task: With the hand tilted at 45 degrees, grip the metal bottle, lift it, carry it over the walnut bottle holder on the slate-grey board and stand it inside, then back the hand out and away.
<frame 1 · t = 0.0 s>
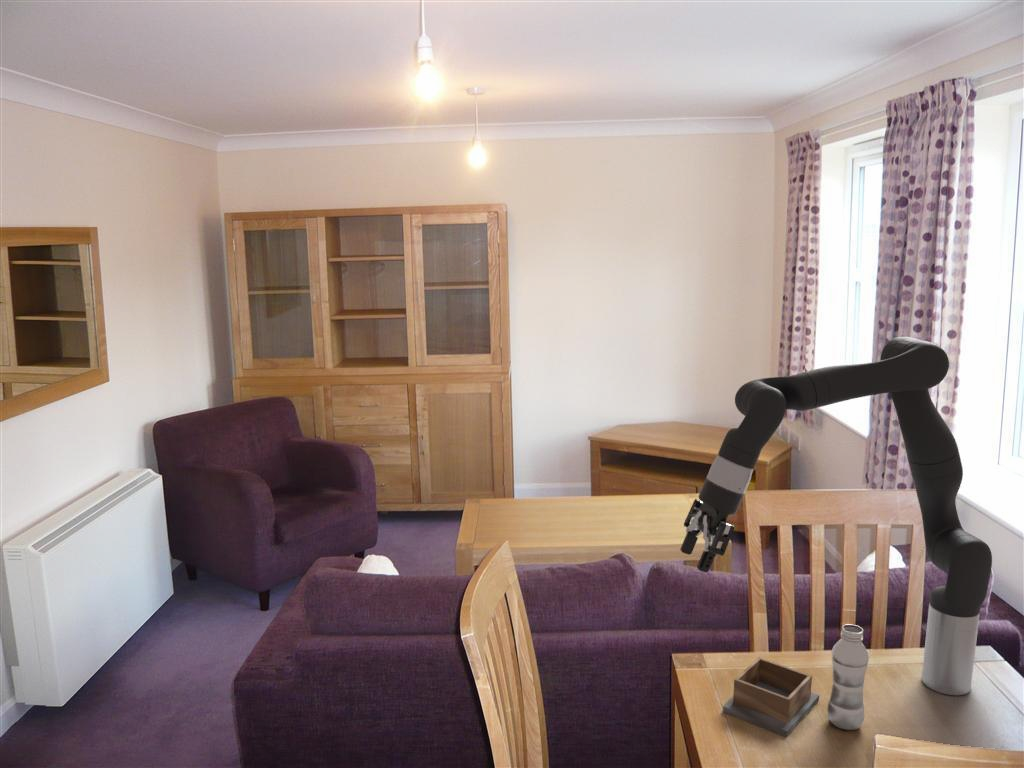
hand: (693, 561, 164), 31 cm above the table, tool tilted 20°, fingers open, 8 cm apart
metal bottle: (844, 725, 166), on the table
bottle holder: (771, 705, 172), on the table
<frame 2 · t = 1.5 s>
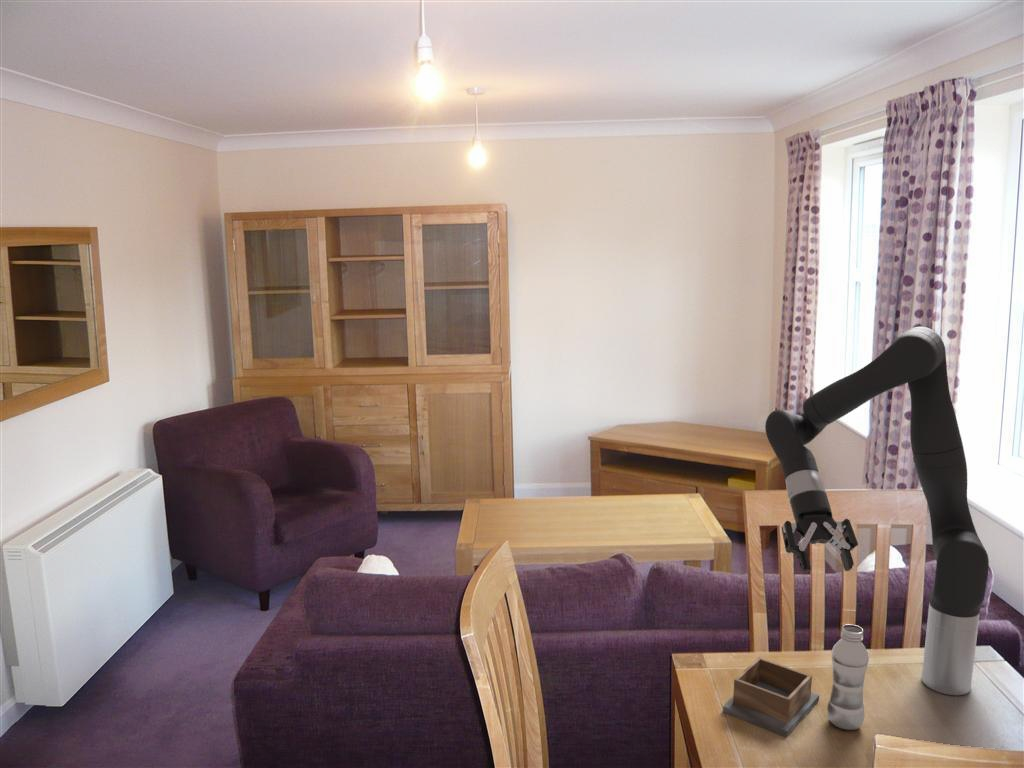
hand: (828, 570, 172), 27 cm above the table, tool tilted 45°, fingers open, 8 cm apart
nothing on the table moved.
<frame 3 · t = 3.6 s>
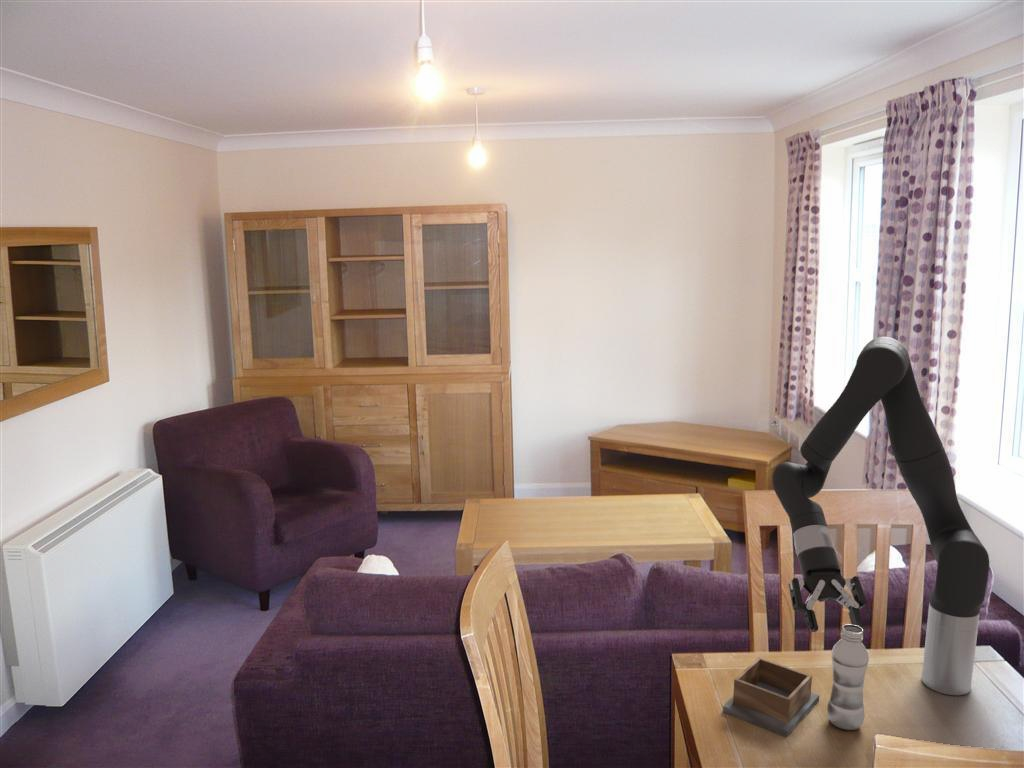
hand: (836, 630, 169), 16 cm above the table, tool tilted 45°, fingers open, 8 cm apart
nothing on the table moved.
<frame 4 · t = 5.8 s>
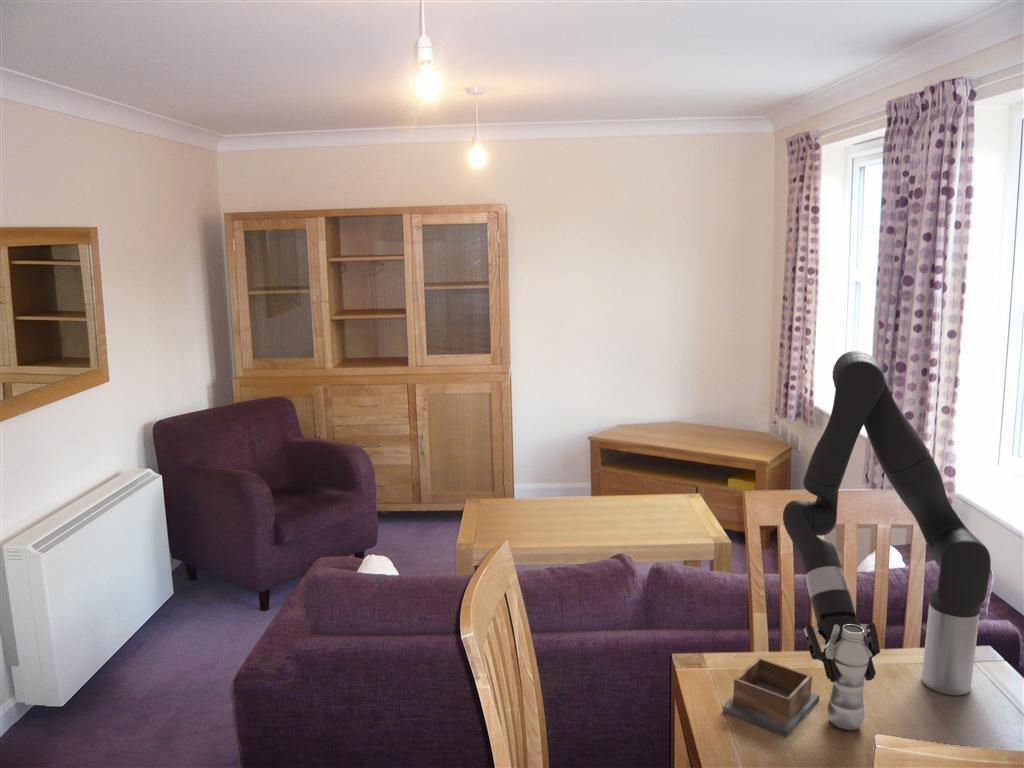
hand: (852, 680, 162), 10 cm above the table, tool tilted 45°, fingers closed on metal bottle, 6 cm apart
metal bottle: (844, 725, 166), on the table, touching gripper
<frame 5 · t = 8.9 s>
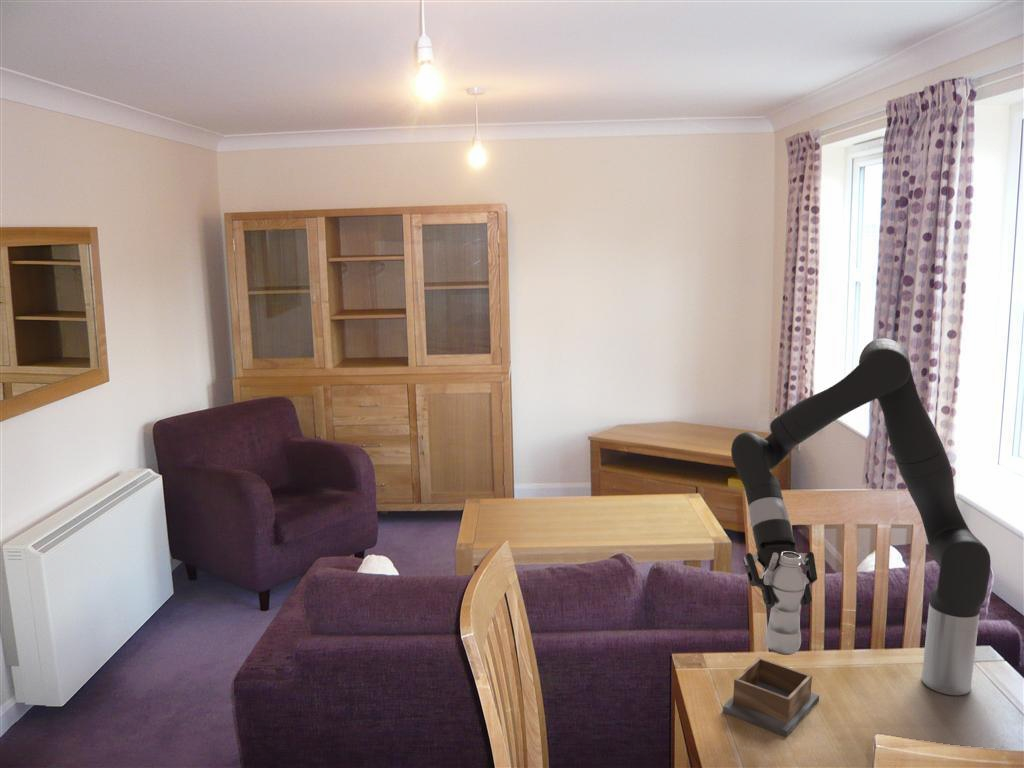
hand: (789, 605, 165), 23 cm above the table, tool tilted 45°, fingers closed on metal bottle, 6 cm apart
metal bottle: (781, 651, 169), point 12 cm above the table, touching gripper
when the fingers open (13 cm above the table, at t = 11.9 s): metal bottle drops 1 cm, resting on bottle holder.
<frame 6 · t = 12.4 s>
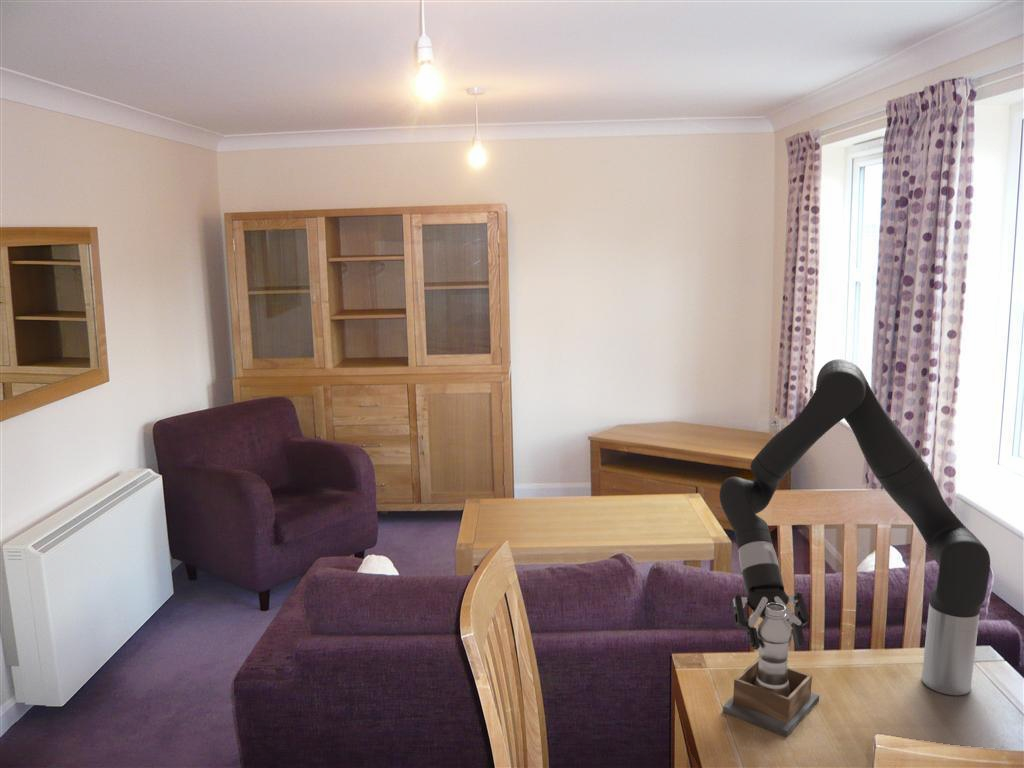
hand: (778, 647, 168), 13 cm above the table, tool tilted 45°, fingers open, 8 cm apart
metal bottle: (771, 700, 172), point 1 cm above the table, touching bottle holder
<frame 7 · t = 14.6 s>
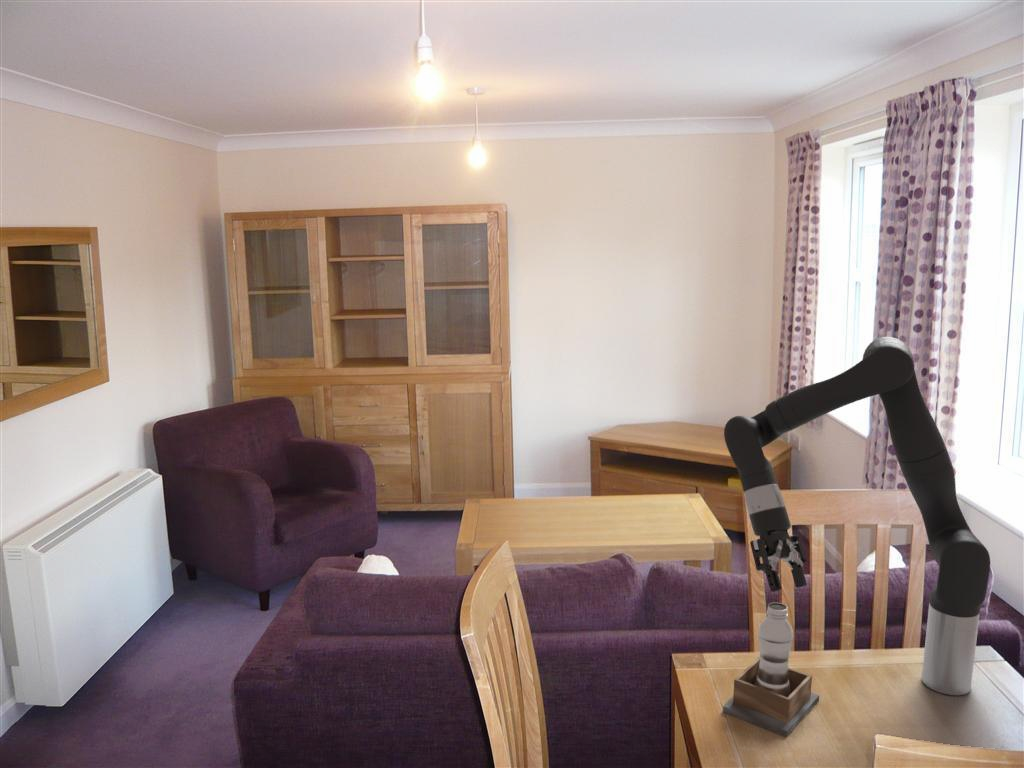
hand: (789, 588, 173), 22 cm above the table, tool tilted 30°, fingers open, 8 cm apart
nothing on the table moved.
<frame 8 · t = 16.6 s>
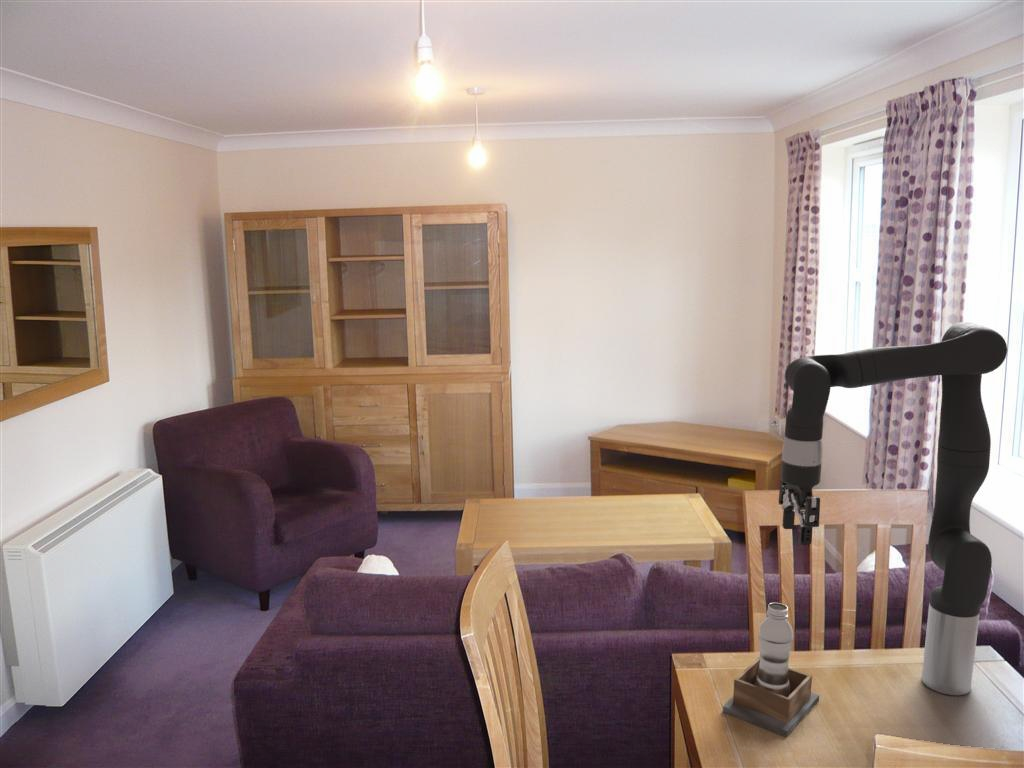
hand: (796, 536, 175), 32 cm above the table, tool pointing down, fingers open, 8 cm apart
nothing on the table moved.
at the end: metal bottle 0.3 cm off-centre on the bottle holder, point 1.0 cm above the bottle holder's base; metal bottle tilted 0°; the gripper is holding nothing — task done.
